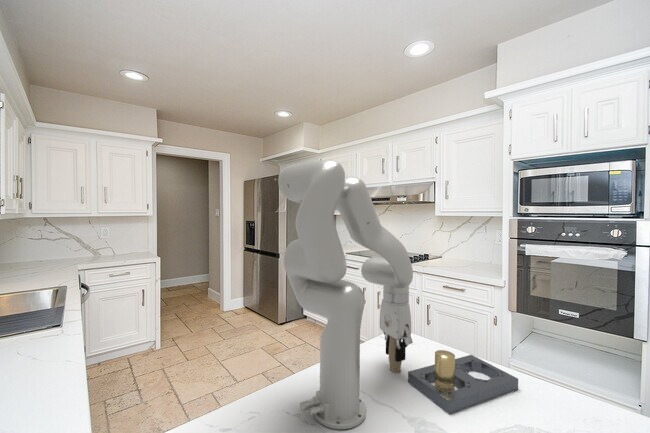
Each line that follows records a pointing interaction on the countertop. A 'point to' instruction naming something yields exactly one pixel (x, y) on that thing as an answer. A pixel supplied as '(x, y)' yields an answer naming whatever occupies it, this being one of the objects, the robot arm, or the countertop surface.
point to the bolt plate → (464, 384)
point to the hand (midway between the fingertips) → (395, 356)
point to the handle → (393, 354)
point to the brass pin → (445, 370)
